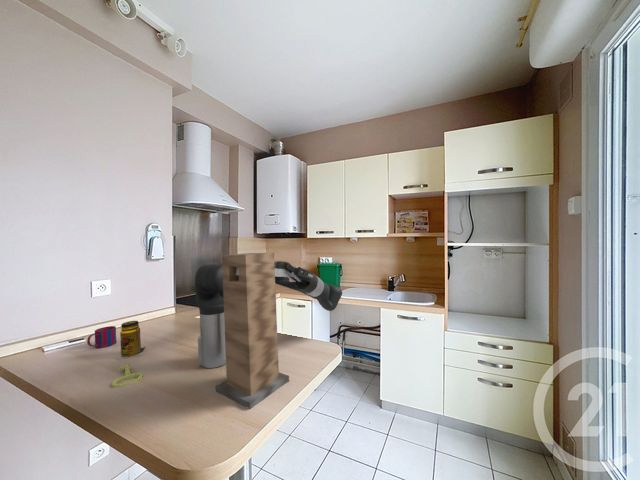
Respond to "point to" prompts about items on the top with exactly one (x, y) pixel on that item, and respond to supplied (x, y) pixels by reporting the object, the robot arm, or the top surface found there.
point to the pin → (277, 273)
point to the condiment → (130, 340)
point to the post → (250, 329)
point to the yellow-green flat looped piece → (126, 377)
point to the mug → (104, 337)
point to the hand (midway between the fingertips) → (281, 264)
